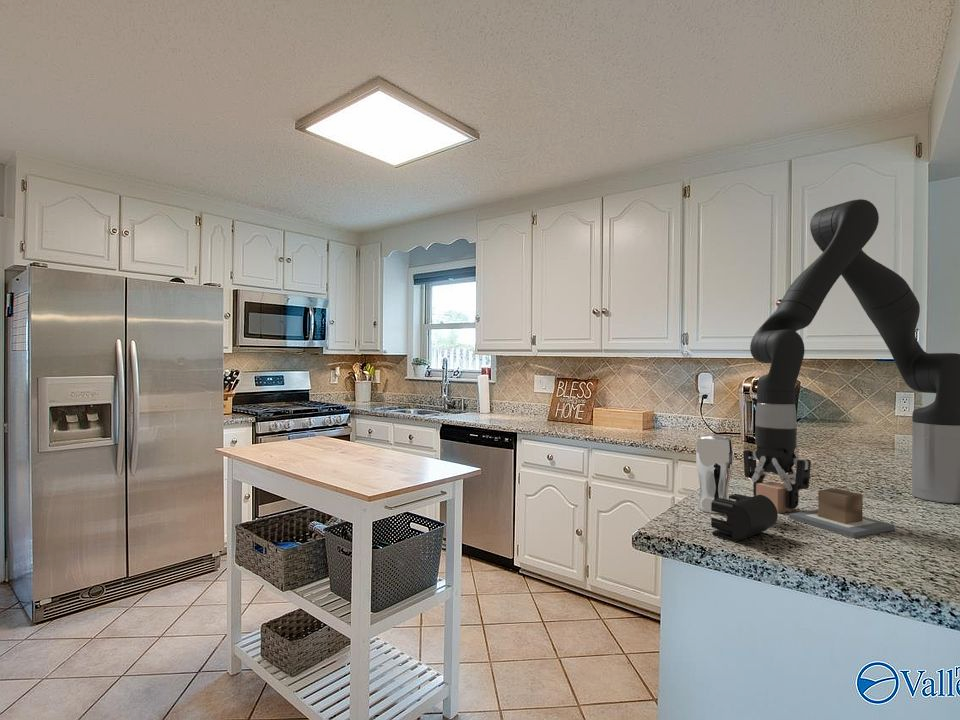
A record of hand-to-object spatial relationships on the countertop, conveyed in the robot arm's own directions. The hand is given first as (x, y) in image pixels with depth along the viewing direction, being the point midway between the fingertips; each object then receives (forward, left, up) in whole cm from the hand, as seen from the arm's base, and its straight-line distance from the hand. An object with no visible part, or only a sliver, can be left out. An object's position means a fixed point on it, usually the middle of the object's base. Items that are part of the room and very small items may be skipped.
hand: (774, 503), depth 109 cm
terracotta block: (0, 0, -1) cm, 1 cm away
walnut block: (-2, +12, 0) cm, 12 cm away
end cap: (+21, +10, -1) cm, 23 cm away
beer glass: (+13, -4, -1) cm, 14 cm away
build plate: (-2, +12, -1) cm, 12 cm away
